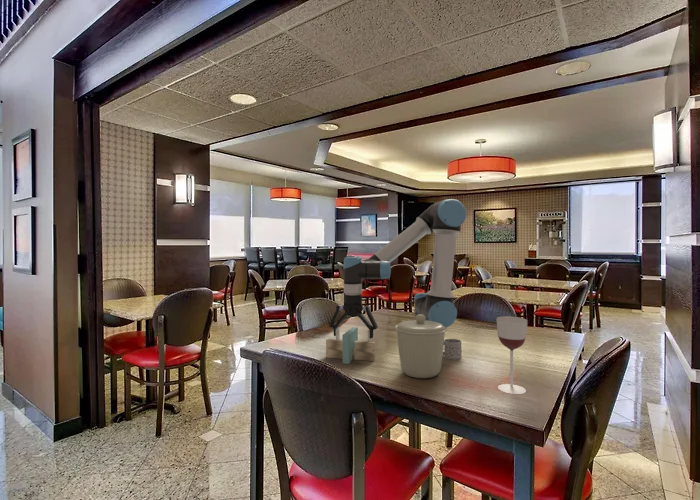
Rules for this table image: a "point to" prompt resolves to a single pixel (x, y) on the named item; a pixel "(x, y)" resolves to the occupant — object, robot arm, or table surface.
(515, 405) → the table surface
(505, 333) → the wineglass
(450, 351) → the mug
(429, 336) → the canister
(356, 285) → the robot arm
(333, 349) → the birch notched board
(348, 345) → the teal slotted plate
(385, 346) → the table surface
